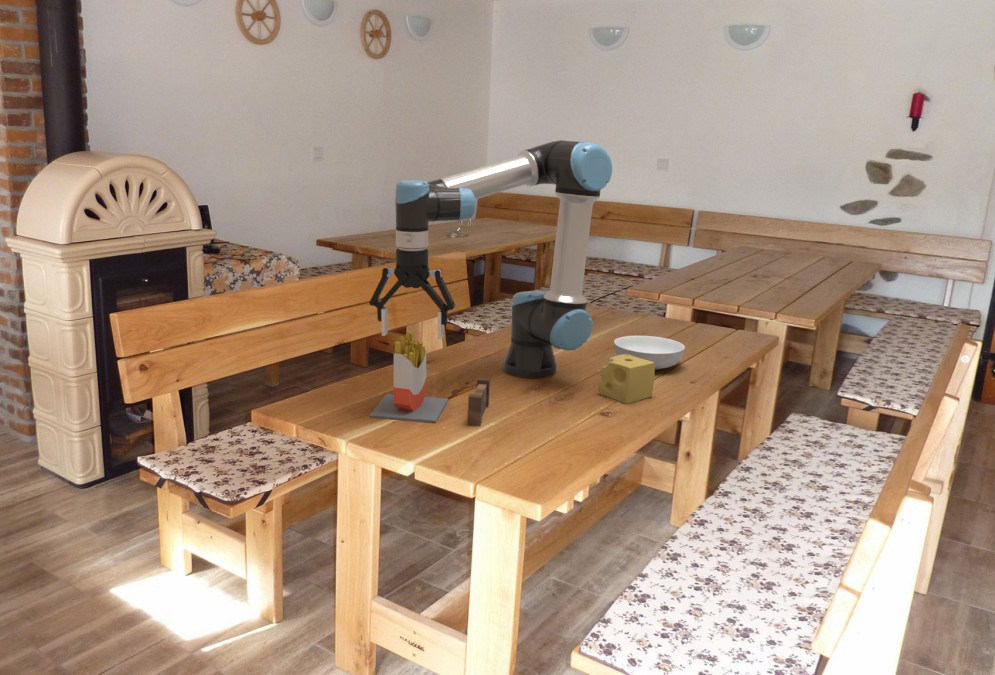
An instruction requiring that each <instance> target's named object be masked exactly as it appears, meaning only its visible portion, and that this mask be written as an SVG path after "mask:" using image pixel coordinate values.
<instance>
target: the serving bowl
mask: <svg viewBox="0 0 995 675" xmlns="http://www.w3.org/2000/svg"><path fill="white" fill-rule="evenodd" d="M613 349H614V352H615V356H617V355H622V354H629V355H632V356H634V357H638V358H641V359H645V360H648V361H651V362H654V367H655V371H656V370H662V369H667V368H670V367H673V366H675V365H676V364H678V363H679V362H680V361H681V359H682V358H683V356H684V354H685V350H686V347H685V345H684V344H683V343H682V342H679V341H676V340H673V339H671V338H665V337H660V336H652V335H625V336H620V337H617V338H615V339H614V341H613Z"/></svg>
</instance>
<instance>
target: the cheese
mask: <svg viewBox="0 0 995 675" xmlns="http://www.w3.org/2000/svg"><path fill="white" fill-rule="evenodd" d="M655 372H656V370H655V367H654V362H651V361H648V360H645V359H641V358H638V357H634V356H632V355H629V354H622V355H614V356H611V357H610V358H609V359H608V362H607V364H606V365H604V366H602V367H601V370H600V377H601V380H600V381H599V382H598V388H597V389H598V390H597V391H598V394H599V395H600V394H601V396H604V397H607V398H609V399H613V400H615V401H617V402H620V403H623V404H626V405H628V404H632V403H635V402H639V401H641V400H644V399H645V400H646V399H649V398H651V397H652V394H653V390H654V383H655Z"/></svg>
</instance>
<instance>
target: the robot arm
mask: <svg viewBox="0 0 995 675" xmlns="http://www.w3.org/2000/svg"><path fill="white" fill-rule="evenodd" d="M612 174H613V163H612V159H611V157H610V155H609V153H608V152H607V150H606V149H605V148H604V147H603V146H601V145H600V144H598V143H592V142H588V141H573V140H572V141H571V140H570V141H569V140H555V141H551V142H548V143H546V142H545V143H543V144H540V145H536V146H534V147H531V148H528V149H524V150H522V151H520V152H518V154H517V156H514V157H510V158H507V159H504V160H500V161H497V162H493V163H490V164H487V165H483V166H480V167H476V168H473V169H469V170H465V171H463V172H459V173H455V174H453V175H447V176H444V177H441V178H439V179H434V180H431V181H426V180H425V181H424V180H412V179H411V180H407V179H406V180H401V181H398V182H397V183H396V185H395V186H396V187H395V196H394V197H395V198H394V202H395V203H394V204H395V246H396V247H397V248H396V250H395V268H391V267H390V266H384V268H383V269H382V272H381V278H380V280H379V282H378V284H377V286H376V288H375V290H374V292H373V294H372V296H371V299H370V300H369V301H368V302H369V305H370V306H373V307H375V308H376V309H377V311H376V312H377V314H376V315H377V317H376V318H377V321H378V322H381V336H383V337H385V336H386V335H387V334H388V332H389V330H388V326H389V325H388V319H389V318H388V306H385V305H386V304H387V303H388V301H389V300H390V299H392V297H393V296H394V295H395V293H396V292H397V291H398V290H399V289H400V288H401V287H404V288H406V289H407V288H409V289H410V288H414V289H419V288H421V289H422V290H423V291H424V292H425V293H426V294H427V296H428V297H429V299H431V300H432V301H433V303H434V304H435V305H436V306H437V308H438V309H439V310H438V311H437V340H441V339H442V338H443V336H444V326H446V325H447V323H448V311H452V310H453V309H454V308H455V307H456V303H455V301H454V299H453V296H452V294H451V293H450V291H449V289H448V287H447V285H446V283H445V280H444V278H443V270H442V269H441V268H437V269H434V270H433V269H431V270H430V268H429V250H428V249H427V247H429V222H430V223H433V222H445V221H447V222H448V221H457V222H460V221H463V220H469V219H471V218H472V217H473V216H474V214H475V212H476V207H477V206H476V205H477V204H476V202H477V201H476V200H479V199H481V198H484V197H488V196H491V195H494V194H498V193H501V192H504V191H508V190H511V189H514V188H518V187H521V186H525V185H526V186H527V187H534V186H538V185H555V189H554V194H555V195H556V196H557V197H558V199H559V208H558V216H557V217H558V218H557V225H556V234H555V242H554V251H553V260H552V269H551V277H550V285H549V290H548V291H547V290H528V291H526V290H525V291H519V292H517V293H515V294H514V295H513V297H512V301H511V302H512V303H511V327H510V330H511V331H510V333H511V334H510V344H509V347H508V350H507V352H506V355H505V358H504V359H503V371H504V372H505V373H506V374H507V375H511V376H513V377H518V378H523V379H524V378H526V379H540V378H541V379H542V378H547V377H552V376H553V375H555V374H557V362H556V358H555V355H554V351H553V350H554V349H553V348H556V349H558V350H564V351H567V352H569V351H575V350H578V349H579V348H581V347H582V346H583V345H584V344H585V343H586V342H587V341H588V339H589V338H590V336H591V334H592V332H593V319H592V317H591V315H590V314H589V312H588V311H586V310H587V303H588V300H587V298H585V296H584V295H583V286H584V280H585V272H586V271H585V270H586V261H587V254H588V248H589V239H590V230H591V222H592V213H593V207H594V206H593V205H594V203H595V202H597V201H598V200H599V199H600V196H601V190H602V189H604V188H605V187H606V186H607V184H609V182H610V180H611V177H612ZM393 275H394V276H395V277H396V279H397V281H396V282H395V284H394V285H393V286H392V287H391V288H390V290H389V291H388V292H387V293H386V294H385V295H384V296H383V297H382V299H381V300H379V299H380V297H381V294H382V292H383V290H384V288H385V286H386V284H387V283H388V280H389V278H390V277H392V276H393ZM430 276H431V277H432V279H433V280H435V282H436V285H437V287H438V289H439V291H440V294H441V296H442V297H441V296H440V295H439V294H438V292H436V290H435V289H434V288H433V286H432V285H431V283H430V282H429V281H428V278H429V277H430ZM442 298H443V299H442Z"/></svg>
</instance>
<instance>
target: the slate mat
mask: <svg viewBox="0 0 995 675" xmlns="http://www.w3.org/2000/svg"><path fill="white" fill-rule="evenodd" d="M448 402H449V398H446V397H444V398H443V397H432V396H425V397H424V400H423V403H422V405H421V406H419V407H418V408H417V409H416V410H415V411H408V410H401V409H397V407H396V406H395V404H394V403H393V393H386V394H385V395H384V397H383V398H382V399H381V401H379V403H378V404H377V405H376V407H374V409H373V410H372V412H370V414H369V418H370V419H371V418H373V419H382V418H383V419H384V420H396V421H409V422H421V423H430V422H435V423H434V424H436V423H437V422H436V421H439V418H440V417H439V416H441V415H442V413H443V411H444V409H445V407H446V405H447V404H448ZM440 414H441V415H440Z"/></svg>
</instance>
